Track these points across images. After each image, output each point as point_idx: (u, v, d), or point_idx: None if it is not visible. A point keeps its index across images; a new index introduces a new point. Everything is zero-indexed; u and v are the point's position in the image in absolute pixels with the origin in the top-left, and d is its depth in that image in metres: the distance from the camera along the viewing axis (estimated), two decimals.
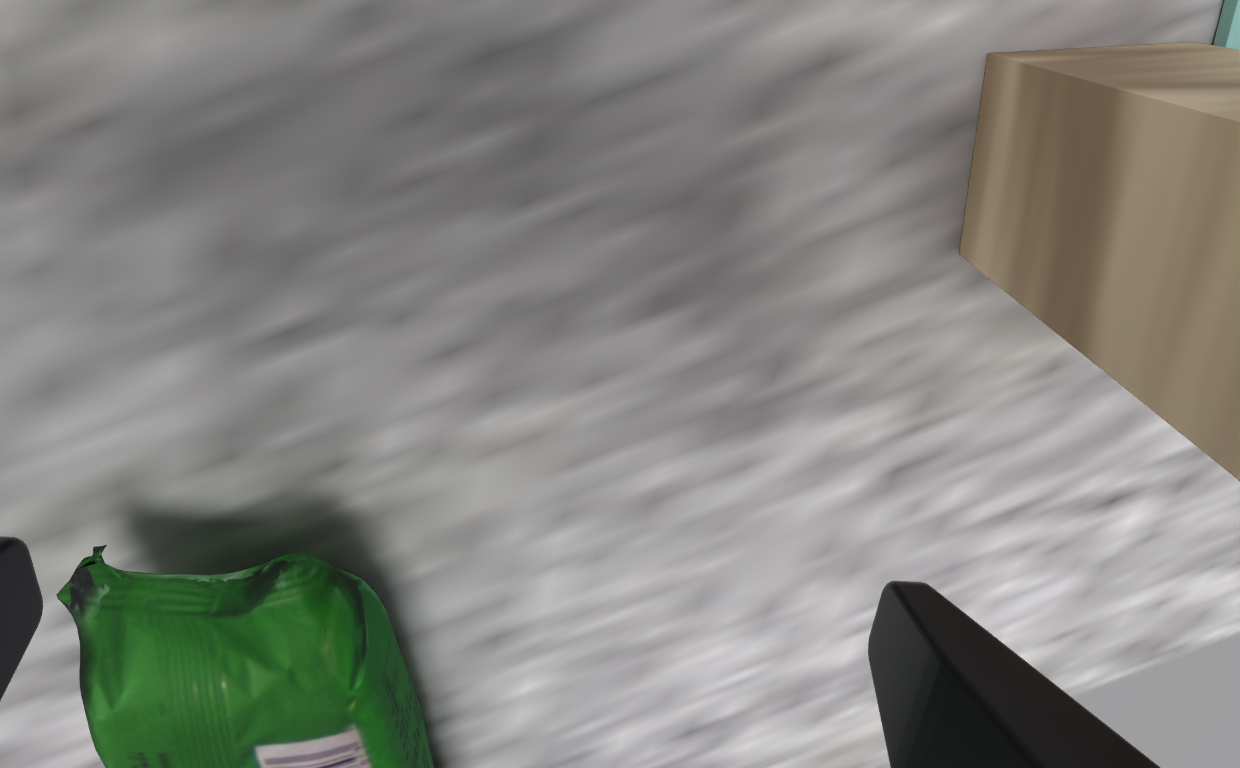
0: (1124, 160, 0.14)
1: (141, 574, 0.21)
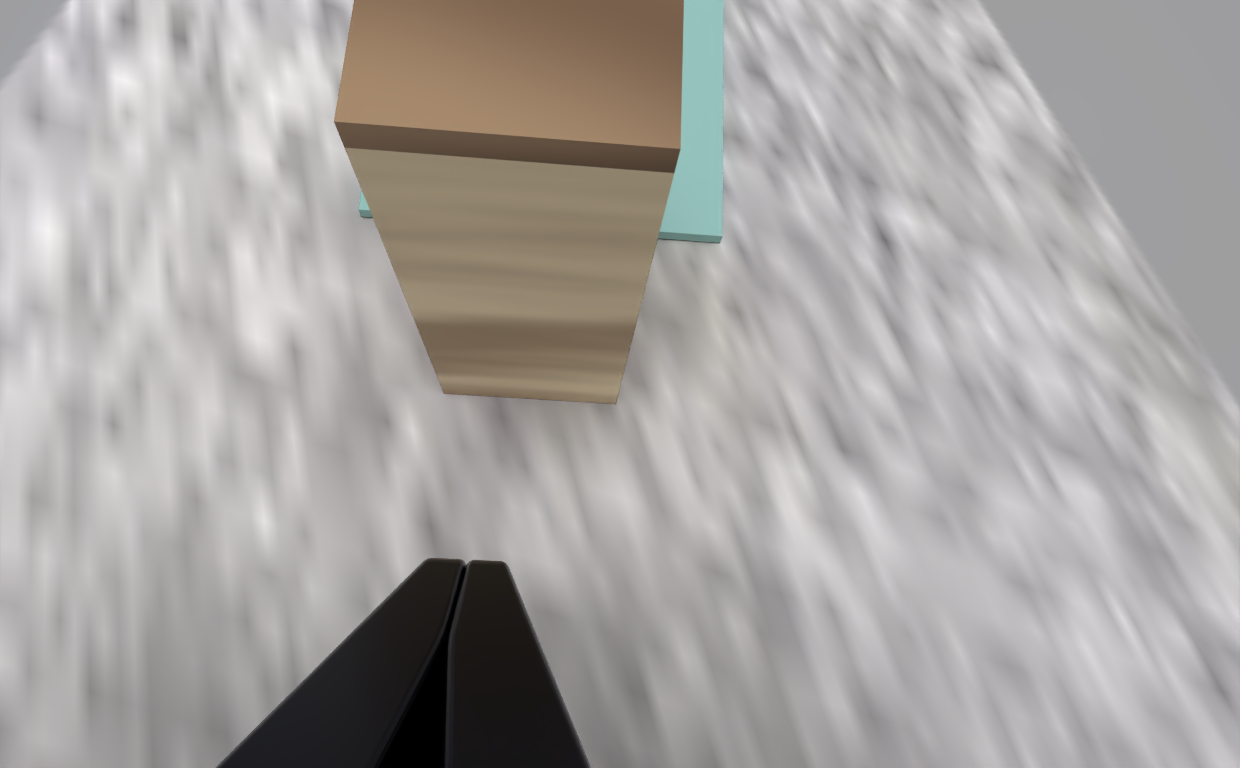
0: (463, 316, 0.17)
1: None
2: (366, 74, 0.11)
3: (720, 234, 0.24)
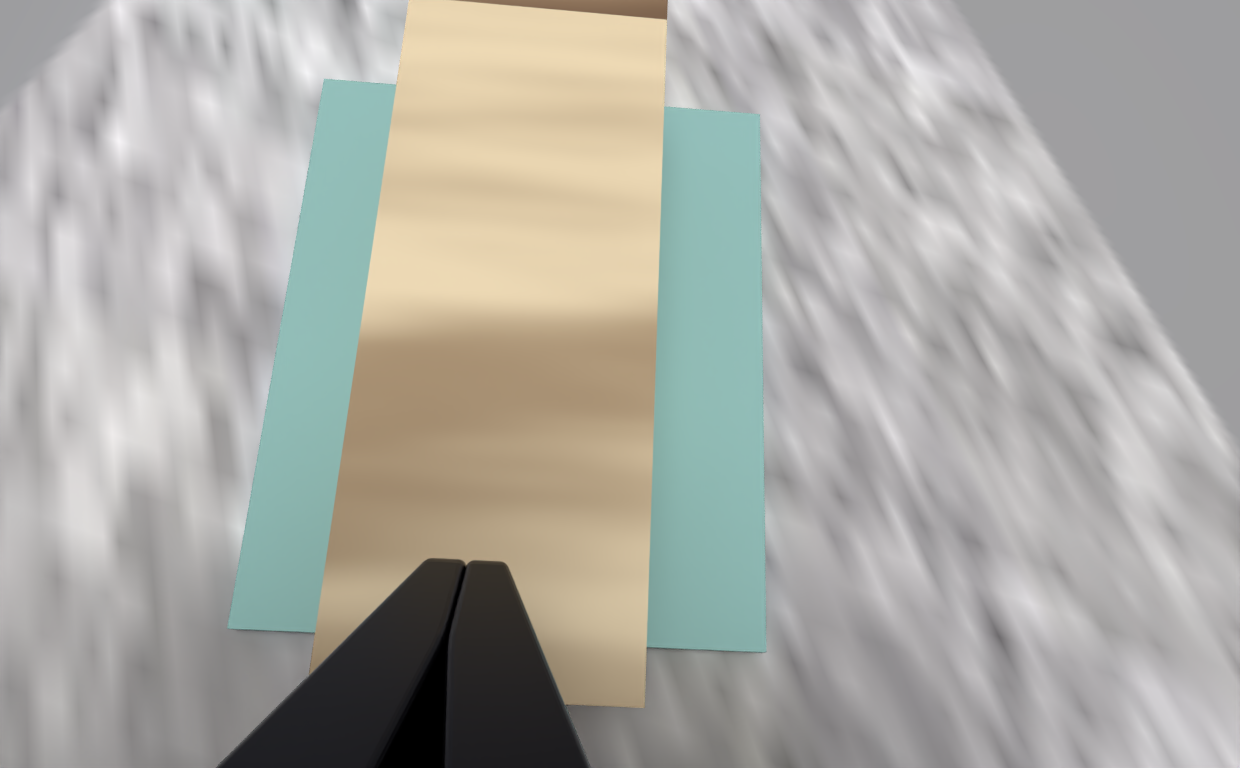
0: (431, 312, 0.13)
1: None
2: None
3: (763, 649, 0.16)
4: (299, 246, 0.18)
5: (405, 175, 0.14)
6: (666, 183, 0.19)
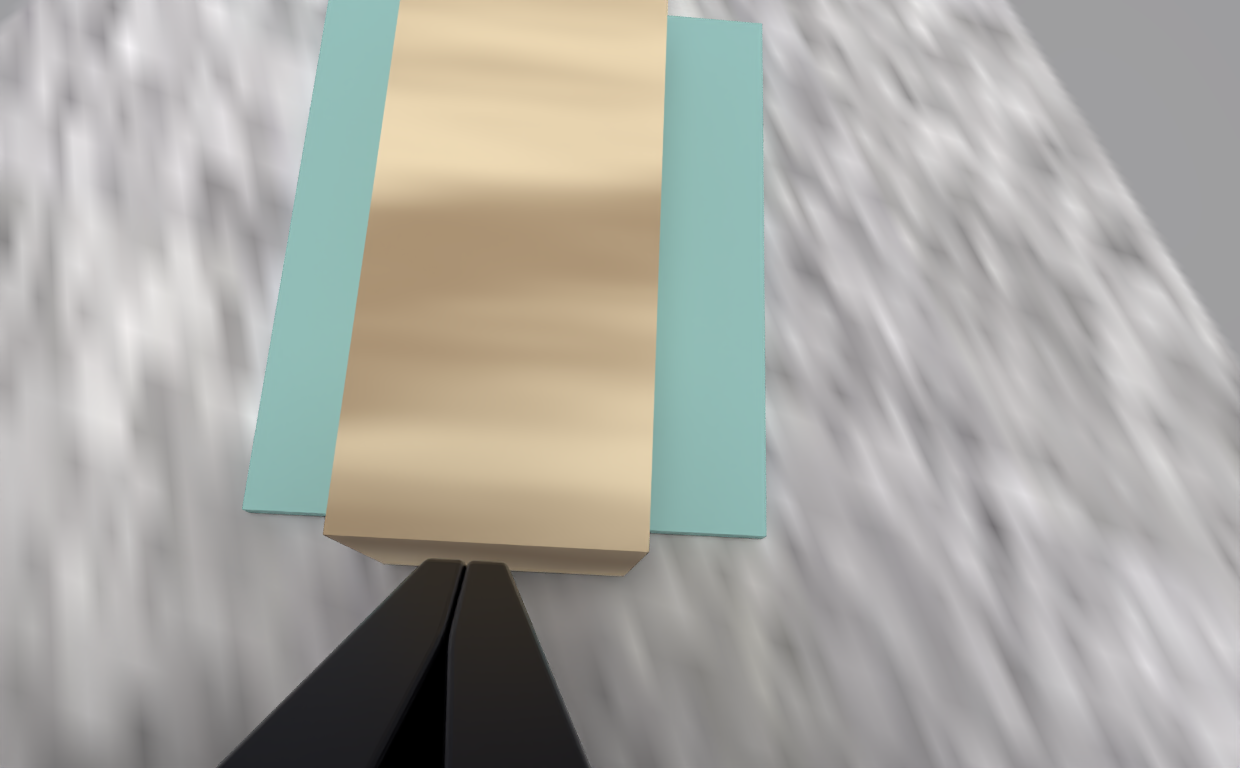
0: (441, 183, 0.14)
1: None
2: None
3: (763, 533, 0.17)
4: (308, 147, 0.18)
5: (414, 53, 0.14)
6: (669, 89, 0.20)
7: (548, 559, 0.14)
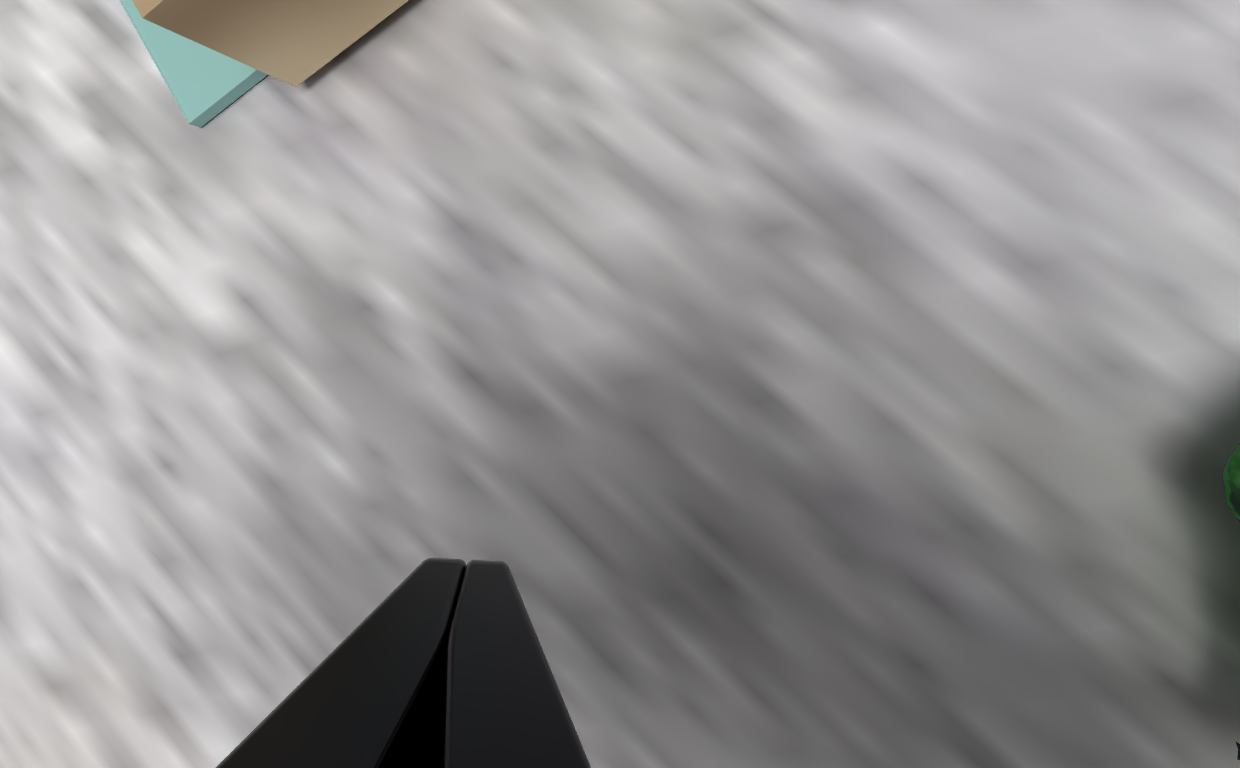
0: None
1: None
2: None
3: None
4: None
5: None
6: None
7: None
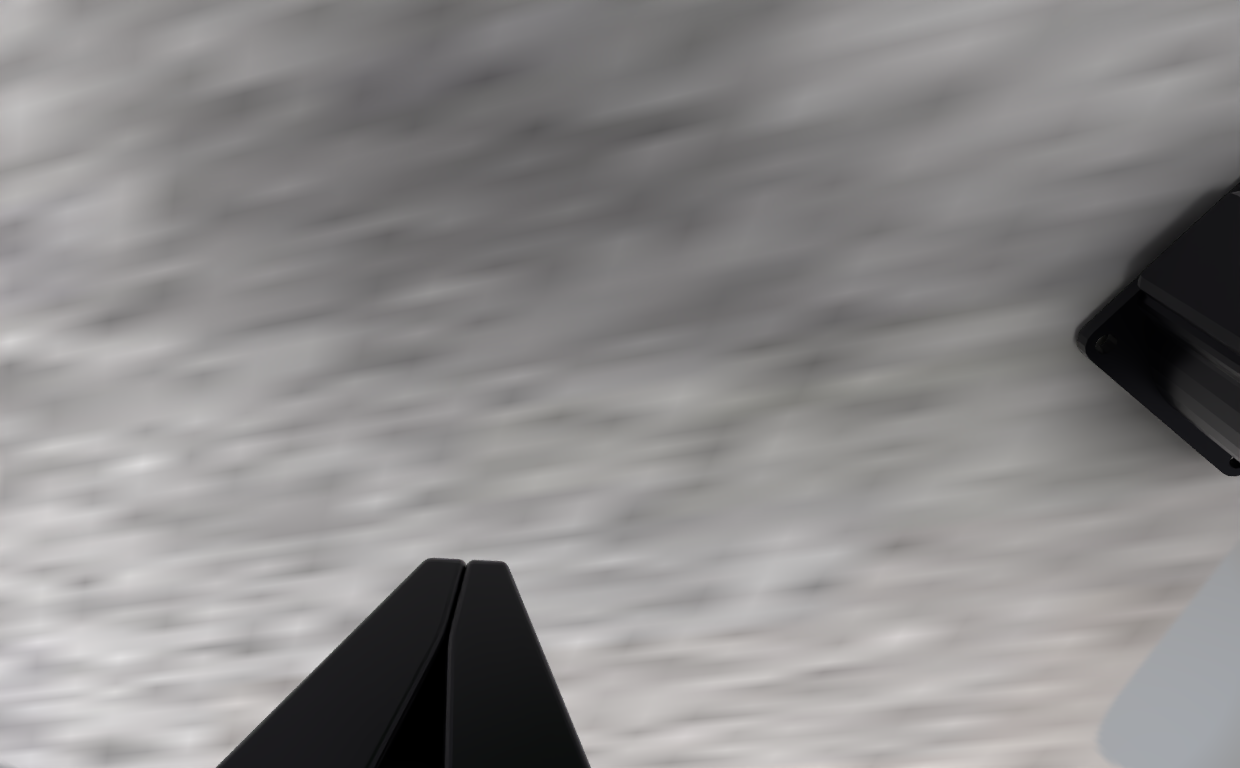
0: None
1: None
2: None
3: None
4: None
5: None
6: None
7: None
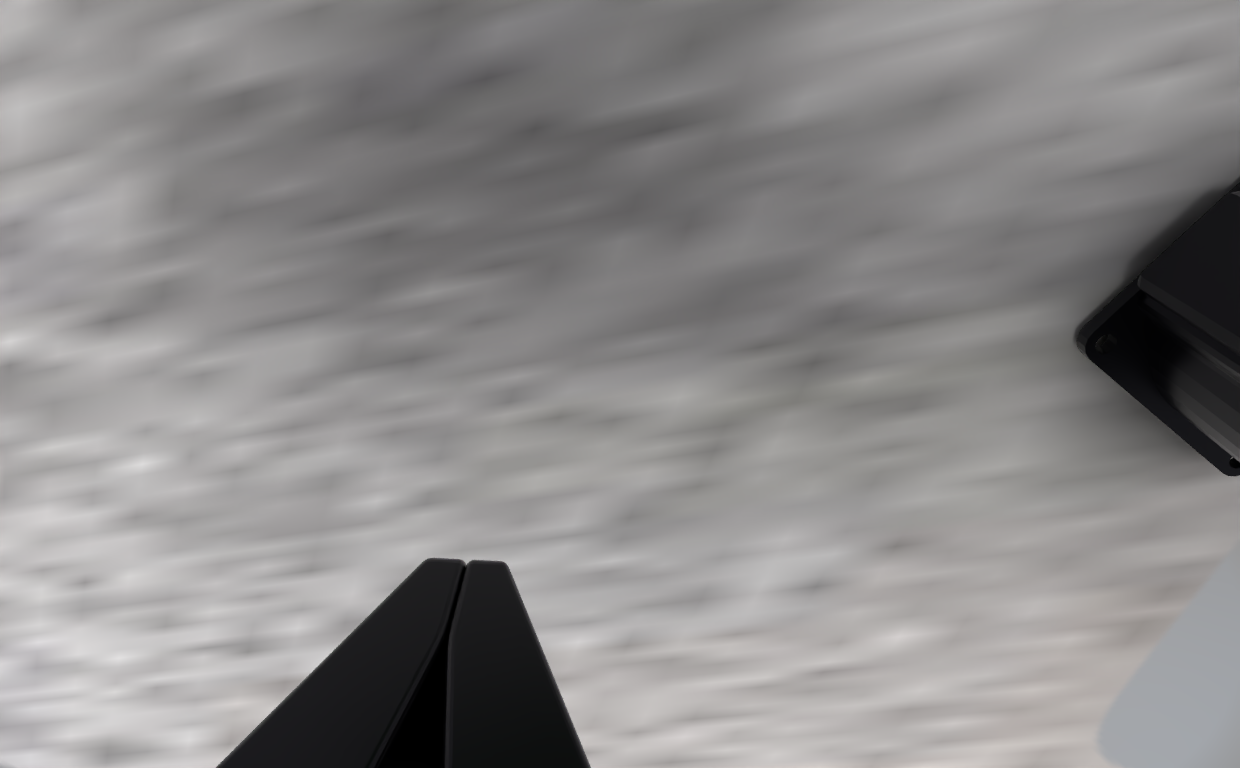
0: None
1: None
2: None
3: None
4: None
5: None
6: None
7: None
